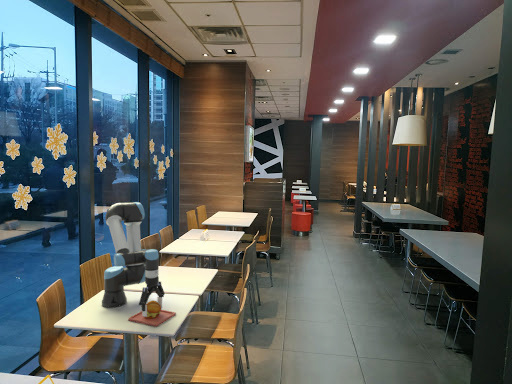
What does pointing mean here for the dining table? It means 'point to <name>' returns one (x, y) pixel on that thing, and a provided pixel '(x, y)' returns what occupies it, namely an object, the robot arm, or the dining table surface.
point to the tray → (153, 321)
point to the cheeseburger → (153, 309)
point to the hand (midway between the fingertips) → (152, 311)
